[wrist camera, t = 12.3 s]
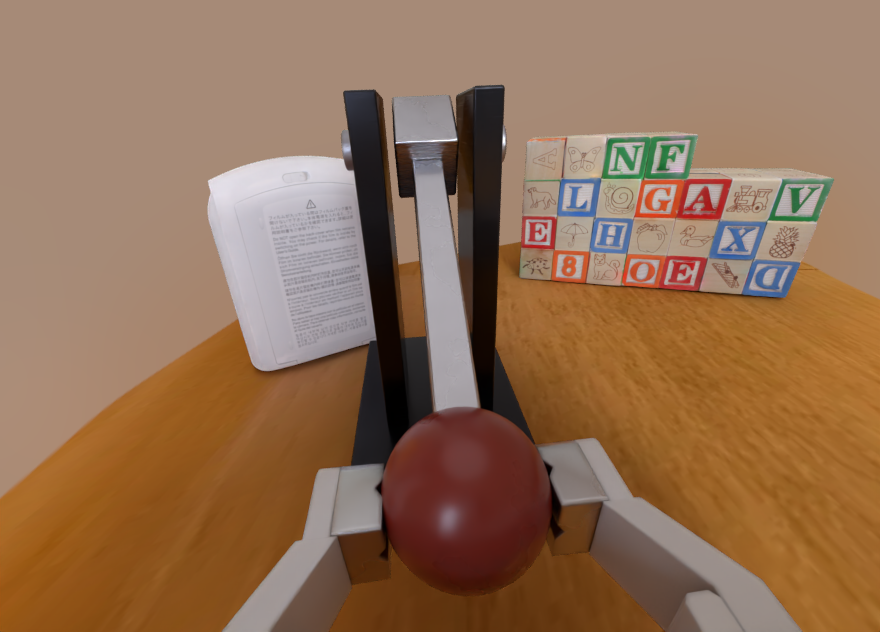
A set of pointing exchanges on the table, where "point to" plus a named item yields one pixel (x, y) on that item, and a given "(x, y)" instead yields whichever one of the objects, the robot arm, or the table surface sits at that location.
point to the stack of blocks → (662, 216)
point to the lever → (455, 405)
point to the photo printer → (293, 258)
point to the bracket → (392, 355)
